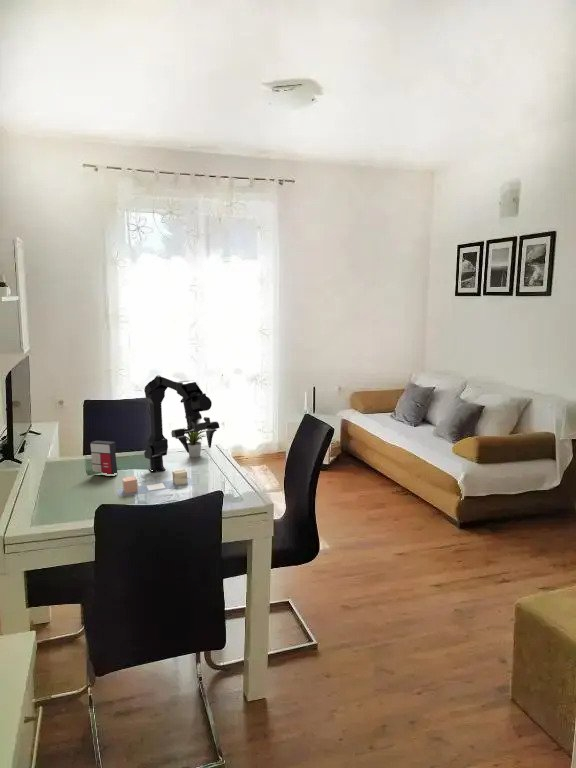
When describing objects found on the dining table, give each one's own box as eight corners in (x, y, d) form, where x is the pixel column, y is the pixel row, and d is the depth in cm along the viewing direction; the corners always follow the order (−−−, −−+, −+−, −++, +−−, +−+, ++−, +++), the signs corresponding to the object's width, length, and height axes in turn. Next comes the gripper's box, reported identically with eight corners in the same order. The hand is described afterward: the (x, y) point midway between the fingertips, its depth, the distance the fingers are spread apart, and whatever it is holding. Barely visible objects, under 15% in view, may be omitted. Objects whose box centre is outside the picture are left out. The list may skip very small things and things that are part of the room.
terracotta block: (123, 490, 234) (122, 478, 233) (136, 488, 236) (135, 476, 235) (125, 493, 229) (123, 481, 229) (137, 491, 231) (136, 479, 231)
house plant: (200, 461, 272) (197, 427, 269) (174, 460, 276) (171, 426, 274) (214, 453, 285) (212, 420, 282) (189, 452, 290) (187, 419, 287)
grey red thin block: (92, 475, 258) (88, 442, 255) (98, 472, 262) (95, 440, 259) (112, 477, 254) (109, 444, 251) (118, 474, 258) (115, 441, 255)
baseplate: (116, 491, 236) (116, 489, 235) (189, 479, 247) (189, 477, 247) (119, 498, 226) (119, 496, 226) (195, 486, 237) (195, 484, 237)
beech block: (173, 482, 241) (172, 470, 241) (185, 480, 243) (184, 468, 243) (175, 485, 237) (174, 473, 236) (187, 483, 239) (186, 471, 238)
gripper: (175, 416, 224) (183, 456, 225) (220, 407, 233) (227, 446, 233) (167, 416, 234) (174, 455, 235) (211, 408, 243) (218, 445, 243)
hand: (199, 450), depth 236 cm, fingers open, 9 cm apart
